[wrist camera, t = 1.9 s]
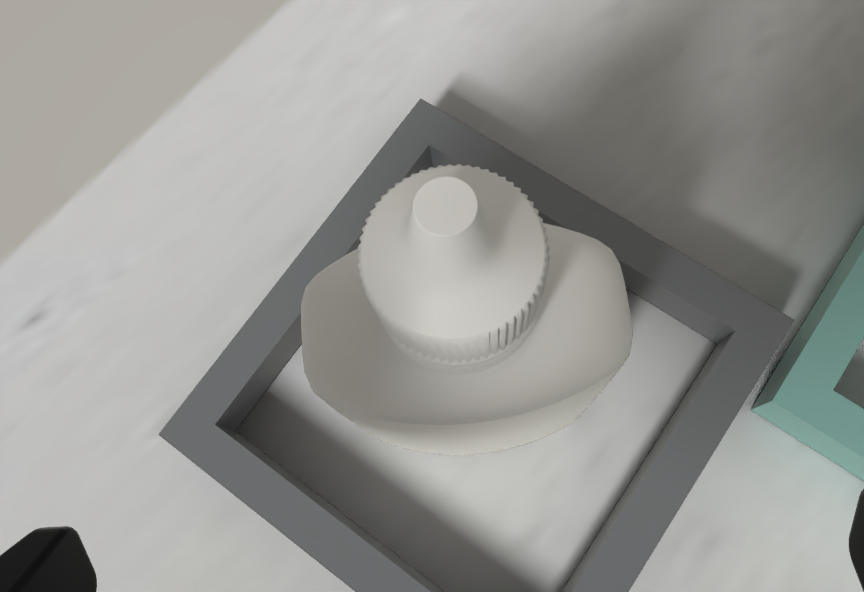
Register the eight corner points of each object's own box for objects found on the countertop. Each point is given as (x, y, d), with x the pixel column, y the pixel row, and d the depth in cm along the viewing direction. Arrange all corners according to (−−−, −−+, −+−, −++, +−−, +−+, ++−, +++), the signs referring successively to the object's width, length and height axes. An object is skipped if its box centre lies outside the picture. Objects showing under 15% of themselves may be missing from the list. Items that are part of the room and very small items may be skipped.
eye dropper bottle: (546, 512, 18) (631, 508, 7) (342, 424, 19) (123, 294, 8) (605, 352, 19) (767, 116, 8) (409, 276, 20) (300, -30, 9)
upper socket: (772, 334, 19) (794, 320, 18) (535, 719, 17) (538, 737, 16) (425, 125, 22) (420, 98, 20) (183, 440, 20) (157, 434, 18)
